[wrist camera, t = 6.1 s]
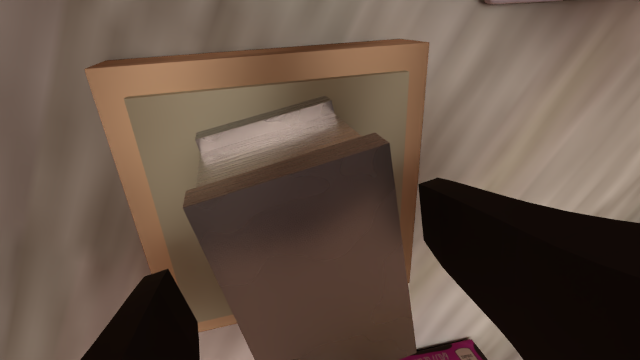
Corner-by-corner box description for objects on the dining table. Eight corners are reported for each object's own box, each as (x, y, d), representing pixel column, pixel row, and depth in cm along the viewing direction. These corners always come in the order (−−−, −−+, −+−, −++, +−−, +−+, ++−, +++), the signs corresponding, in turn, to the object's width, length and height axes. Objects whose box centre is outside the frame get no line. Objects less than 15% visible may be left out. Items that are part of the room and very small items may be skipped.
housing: (325, 95, 11) (389, 143, 7) (358, 254, 14) (416, 352, 10) (196, 132, 10) (182, 208, 6) (259, 289, 13) (278, 408, 9)
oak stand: (400, 38, 13) (434, 42, 11) (389, 255, 17) (412, 287, 15) (105, 60, 11) (80, 70, 9) (177, 301, 15) (171, 344, 13)
